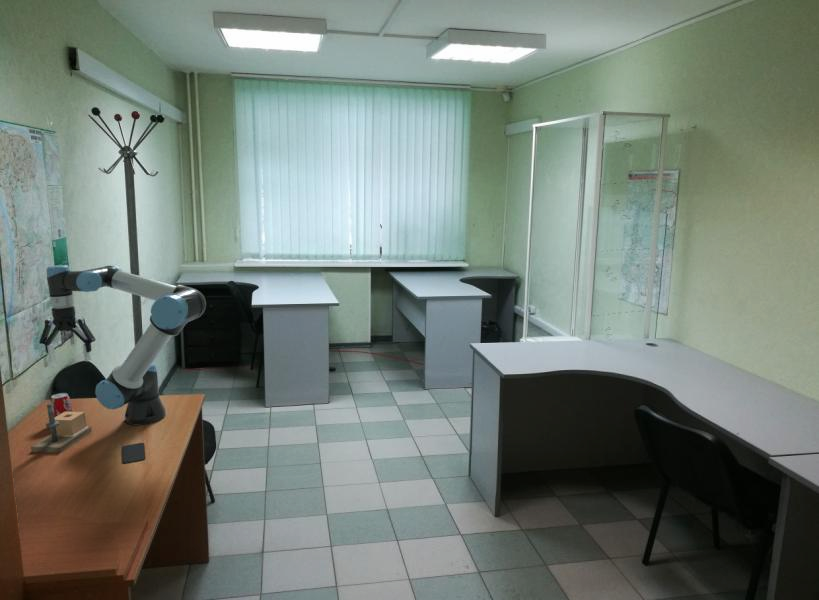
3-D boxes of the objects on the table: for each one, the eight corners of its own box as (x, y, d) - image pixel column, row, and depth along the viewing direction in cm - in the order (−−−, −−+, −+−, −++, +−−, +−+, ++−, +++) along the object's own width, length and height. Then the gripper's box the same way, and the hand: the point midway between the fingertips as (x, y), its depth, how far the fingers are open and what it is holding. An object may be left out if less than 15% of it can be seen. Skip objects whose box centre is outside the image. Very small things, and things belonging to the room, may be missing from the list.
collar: (86, 426, 227) (84, 412, 226) (73, 435, 220) (71, 420, 218) (66, 426, 228) (64, 411, 227) (52, 434, 220) (50, 419, 219)
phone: (121, 463, 201) (121, 446, 214) (122, 465, 201) (122, 448, 214) (145, 459, 204) (144, 442, 217) (145, 461, 204) (144, 444, 217)
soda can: (64, 428, 232) (60, 399, 230) (48, 426, 234) (44, 397, 231) (77, 421, 239) (73, 392, 237) (62, 419, 241) (58, 391, 238)
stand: (91, 432, 228) (86, 392, 225) (60, 452, 211) (54, 410, 207) (64, 431, 229) (59, 391, 226) (31, 451, 212) (25, 409, 208)
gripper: (23, 309, 220) (31, 364, 224) (90, 307, 220) (97, 362, 224) (36, 305, 228) (43, 358, 232) (100, 303, 227) (107, 357, 231)
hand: (70, 360), depth 228 cm, fingers open, 13 cm apart
